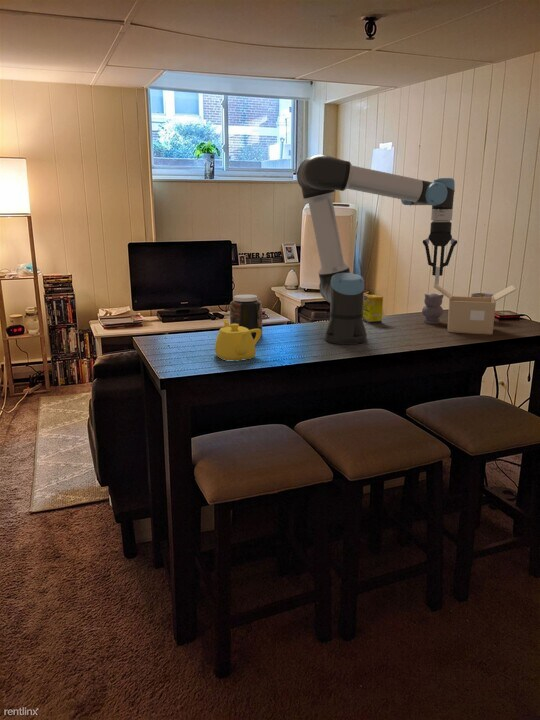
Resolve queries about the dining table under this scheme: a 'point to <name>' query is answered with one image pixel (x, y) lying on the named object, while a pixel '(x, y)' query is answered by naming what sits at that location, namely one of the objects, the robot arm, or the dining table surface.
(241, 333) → the teapot
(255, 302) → the jar
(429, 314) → the cat figurine
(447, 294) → the flap
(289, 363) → the dining table surface
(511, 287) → the flap
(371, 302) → the supplement box
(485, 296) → the mug
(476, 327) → the carton
